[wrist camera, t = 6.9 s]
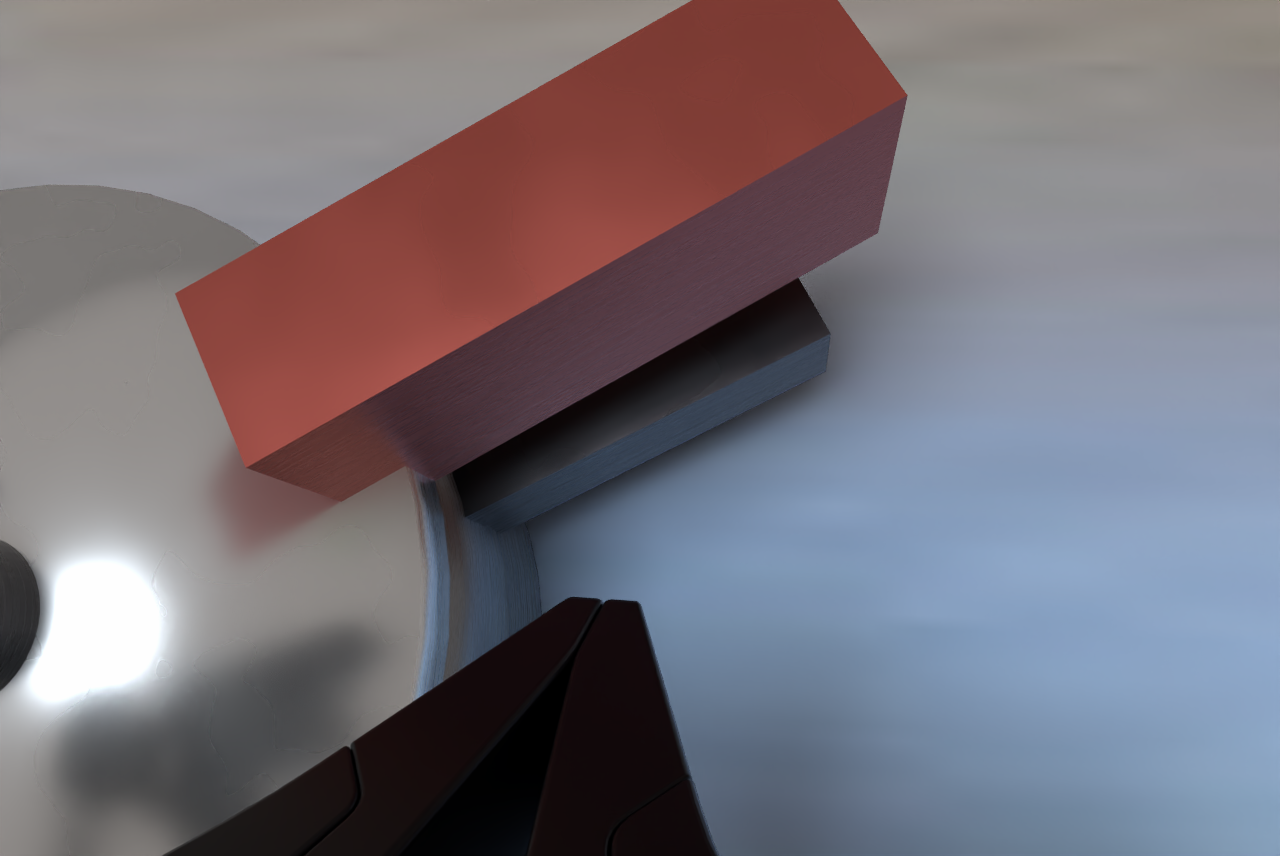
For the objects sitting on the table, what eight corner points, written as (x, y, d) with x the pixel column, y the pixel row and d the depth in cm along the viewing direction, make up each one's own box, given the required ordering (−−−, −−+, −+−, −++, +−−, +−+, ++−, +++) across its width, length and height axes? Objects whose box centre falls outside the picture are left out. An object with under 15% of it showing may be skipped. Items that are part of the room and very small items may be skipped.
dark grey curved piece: (958, 648, 19) (1034, 642, 13) (-62, 1148, 20) (-417, 1352, 14) (660, 115, 23) (617, -69, 17) (-182, 546, 23) (-497, 509, 18)
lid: (1106, 567, 13) (1227, 530, 9) (-418, 1408, 13) (-857, 1682, 10) (626, -133, 17) (584, -344, 13) (-533, 526, 17) (-873, 492, 14)
